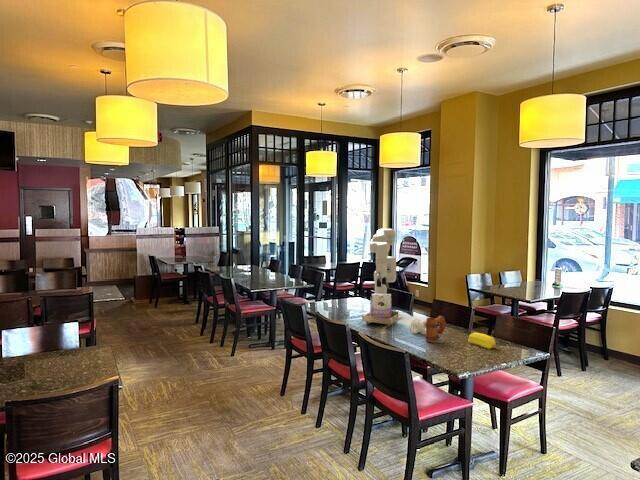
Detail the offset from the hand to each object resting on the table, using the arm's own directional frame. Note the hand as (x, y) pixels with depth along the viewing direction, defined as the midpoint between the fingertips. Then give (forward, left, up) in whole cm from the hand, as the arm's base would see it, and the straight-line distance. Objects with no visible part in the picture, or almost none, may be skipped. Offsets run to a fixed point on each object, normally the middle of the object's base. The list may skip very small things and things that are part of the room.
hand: (381, 285), depth 307 cm
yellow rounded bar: (+19, +70, -27) cm, 77 cm away
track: (-5, 0, -27) cm, 27 cm away
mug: (+24, +44, -27) cm, 57 cm away
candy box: (0, 0, -23) cm, 23 cm away
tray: (+2, 0, -25) cm, 25 cm away
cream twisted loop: (+12, +30, -27) cm, 42 cm away
